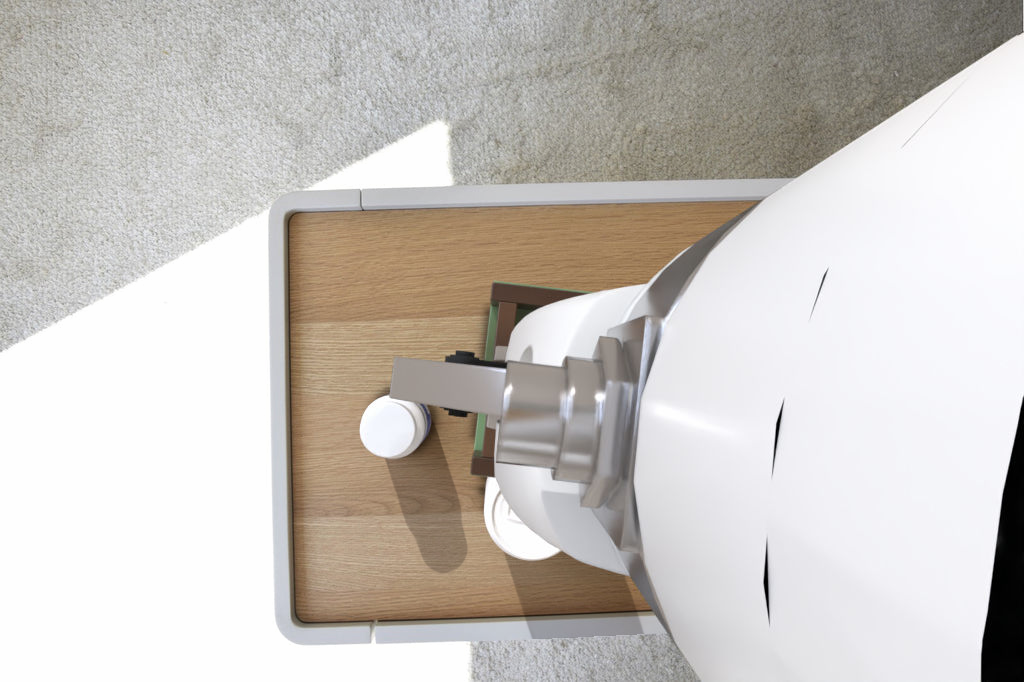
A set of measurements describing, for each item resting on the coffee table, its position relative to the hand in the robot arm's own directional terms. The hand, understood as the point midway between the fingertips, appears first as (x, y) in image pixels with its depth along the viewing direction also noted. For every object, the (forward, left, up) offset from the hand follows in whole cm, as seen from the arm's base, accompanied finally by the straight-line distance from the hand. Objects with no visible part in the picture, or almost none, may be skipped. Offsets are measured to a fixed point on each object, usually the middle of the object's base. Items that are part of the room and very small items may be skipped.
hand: (624, 399), depth 26 cm
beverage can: (-11, +1, -39) cm, 41 cm away
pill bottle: (-5, +14, -39) cm, 42 cm away
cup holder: (0, 0, -13) cm, 13 cm away
